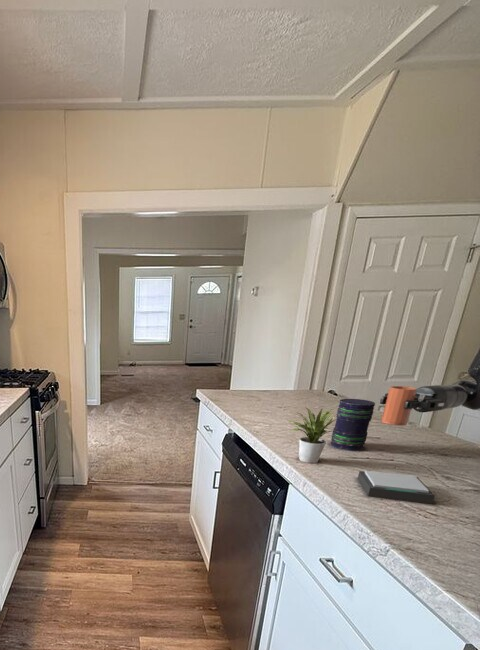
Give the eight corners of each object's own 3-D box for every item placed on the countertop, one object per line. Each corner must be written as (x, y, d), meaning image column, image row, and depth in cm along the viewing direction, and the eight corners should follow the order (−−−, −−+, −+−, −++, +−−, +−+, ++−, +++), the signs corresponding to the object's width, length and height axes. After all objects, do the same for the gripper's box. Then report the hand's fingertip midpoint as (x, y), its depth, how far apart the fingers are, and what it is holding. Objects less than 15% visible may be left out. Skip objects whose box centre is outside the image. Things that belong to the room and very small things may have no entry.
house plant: (298, 448, 132) (308, 399, 126) (342, 459, 122) (355, 406, 115) (274, 457, 124) (284, 405, 118) (320, 470, 114) (333, 413, 107)
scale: (415, 484, 104) (418, 474, 102) (432, 504, 93) (436, 493, 92) (357, 478, 108) (359, 468, 107) (367, 496, 97) (370, 485, 96)
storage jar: (351, 441, 139) (361, 398, 133) (371, 450, 130) (383, 404, 124) (323, 442, 138) (332, 399, 132) (341, 451, 129) (352, 405, 123)
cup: (403, 421, 117) (413, 386, 114) (410, 426, 112) (420, 390, 108) (378, 419, 120) (387, 385, 116) (384, 424, 114) (393, 389, 110)
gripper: (412, 382, 123) (372, 385, 118) (465, 389, 110) (424, 393, 105) (405, 406, 126) (366, 410, 120) (456, 416, 113) (416, 421, 108)
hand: (393, 402), depth 113 cm, fingers closed on cup, 6 cm apart
